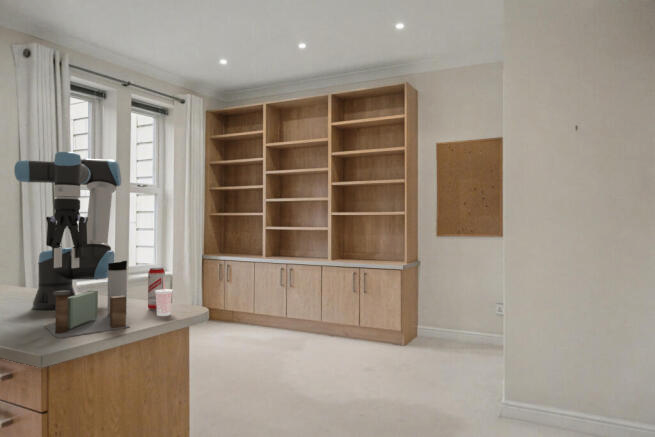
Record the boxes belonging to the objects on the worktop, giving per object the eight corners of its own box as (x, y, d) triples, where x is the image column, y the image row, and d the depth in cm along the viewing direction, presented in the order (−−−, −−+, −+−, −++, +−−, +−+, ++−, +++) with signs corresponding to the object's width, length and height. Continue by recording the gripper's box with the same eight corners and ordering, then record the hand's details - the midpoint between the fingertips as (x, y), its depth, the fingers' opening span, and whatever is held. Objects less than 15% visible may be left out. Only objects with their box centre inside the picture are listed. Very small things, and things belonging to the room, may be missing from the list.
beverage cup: (160, 317, 154) (160, 278, 155) (151, 314, 158) (152, 276, 159) (175, 314, 159) (176, 276, 159) (167, 312, 163) (167, 275, 163)
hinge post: (51, 333, 131) (52, 291, 131) (68, 331, 134) (68, 290, 134) (54, 336, 128) (55, 293, 128) (71, 333, 131) (72, 291, 131)
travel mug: (119, 317, 153) (120, 261, 154) (103, 316, 155) (104, 261, 155) (131, 314, 160) (131, 260, 160) (115, 313, 161) (115, 259, 161)
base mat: (44, 326, 140) (44, 325, 140) (110, 317, 154) (110, 316, 154) (58, 338, 125) (58, 337, 125) (129, 327, 139) (129, 326, 139)
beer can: (152, 307, 172) (152, 267, 172) (167, 307, 172) (167, 267, 172) (144, 310, 166) (145, 269, 166) (160, 310, 166) (161, 269, 166)
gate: (61, 328, 133) (61, 298, 133) (89, 318, 148) (89, 290, 148) (70, 328, 133) (70, 298, 133) (97, 318, 148) (97, 290, 148)
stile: (109, 327, 139) (109, 296, 139) (122, 325, 142) (122, 295, 142) (112, 329, 136) (113, 298, 136) (125, 327, 139) (126, 296, 139)
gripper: (33, 197, 142) (32, 268, 141) (85, 197, 139) (84, 269, 139) (50, 199, 149) (49, 266, 149) (100, 199, 147) (99, 266, 147)
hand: (66, 267), depth 144 cm, fingers open, 6 cm apart
